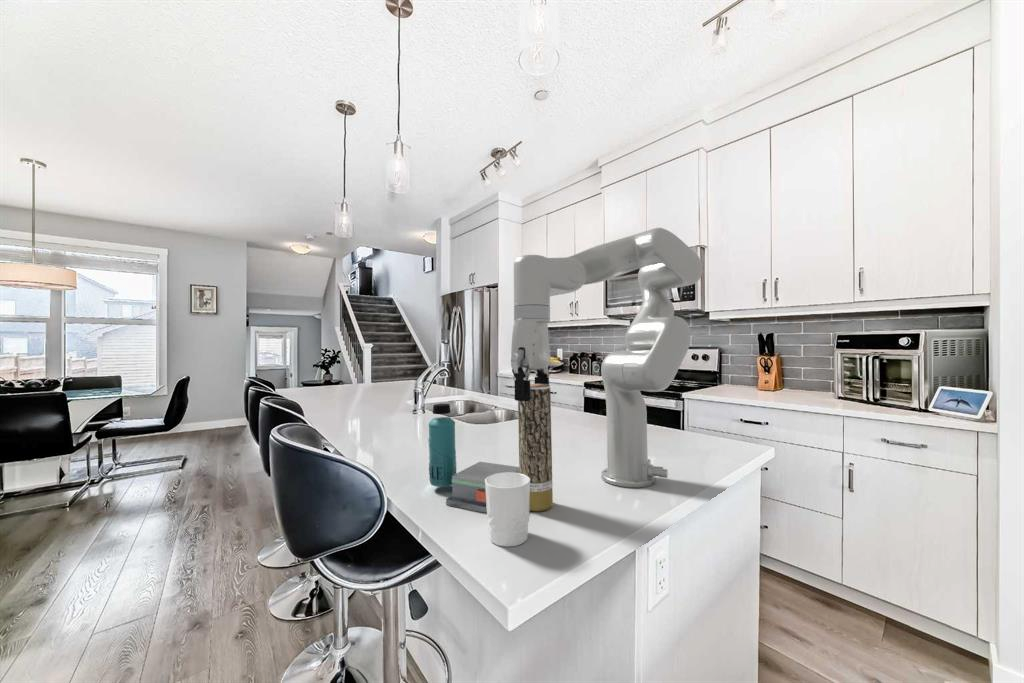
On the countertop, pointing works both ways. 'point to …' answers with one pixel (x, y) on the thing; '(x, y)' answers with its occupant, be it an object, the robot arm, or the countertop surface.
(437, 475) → the beverage bottle
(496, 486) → the white cup
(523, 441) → the paper tube
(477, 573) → the countertop surface
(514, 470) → the stand
